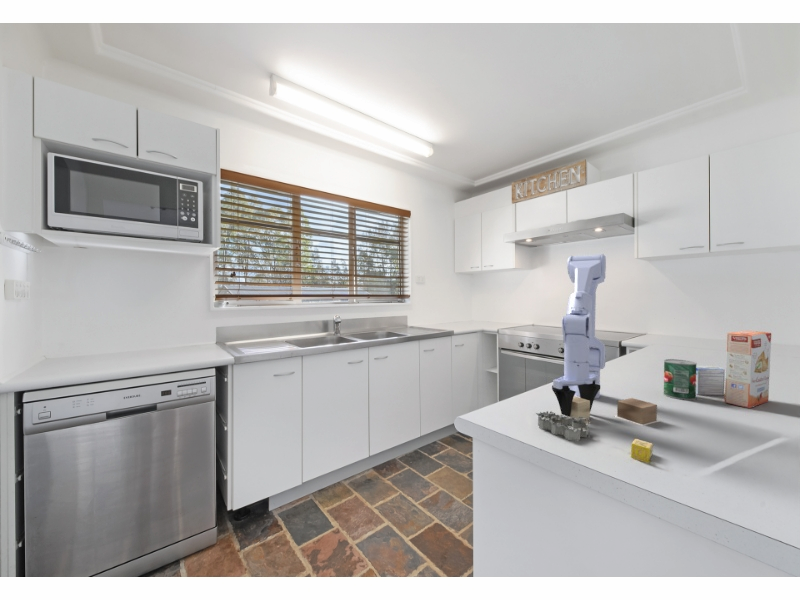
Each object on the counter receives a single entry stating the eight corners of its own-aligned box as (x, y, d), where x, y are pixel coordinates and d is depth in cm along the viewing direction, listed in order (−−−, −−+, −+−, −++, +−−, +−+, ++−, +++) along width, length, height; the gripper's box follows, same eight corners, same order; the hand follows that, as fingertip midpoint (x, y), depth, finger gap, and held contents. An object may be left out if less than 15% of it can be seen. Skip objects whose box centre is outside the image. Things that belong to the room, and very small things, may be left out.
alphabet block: (652, 458, 67) (653, 442, 67) (649, 463, 65) (649, 448, 65) (634, 452, 70) (634, 438, 70) (630, 458, 67) (630, 442, 67)
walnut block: (617, 416, 88) (617, 401, 88) (631, 412, 90) (631, 397, 90) (642, 424, 82) (642, 408, 82) (656, 420, 85) (656, 404, 85)
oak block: (562, 417, 90) (562, 398, 89) (574, 414, 91) (574, 396, 91) (577, 423, 85) (577, 403, 85) (589, 420, 87) (589, 400, 87)
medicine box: (713, 392, 112) (713, 365, 112) (724, 396, 107) (725, 368, 107) (687, 391, 112) (687, 365, 112) (697, 395, 108) (698, 368, 108)
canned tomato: (657, 392, 112) (658, 358, 111) (684, 393, 110) (685, 359, 110) (673, 399, 104) (674, 363, 103) (702, 400, 103) (703, 364, 102)
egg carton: (593, 437, 78) (594, 419, 77) (572, 444, 74) (572, 425, 74) (553, 421, 87) (553, 405, 87) (532, 426, 84) (532, 410, 83)
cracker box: (751, 409, 95) (753, 334, 94) (723, 403, 100) (724, 332, 100) (771, 402, 101) (772, 331, 101) (743, 396, 107) (744, 329, 106)
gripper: (570, 366, 81) (570, 422, 82) (609, 361, 88) (609, 413, 88) (546, 360, 88) (546, 413, 88) (584, 356, 94) (584, 405, 94)
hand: (576, 412), depth 88 cm, fingers open, 7 cm apart
